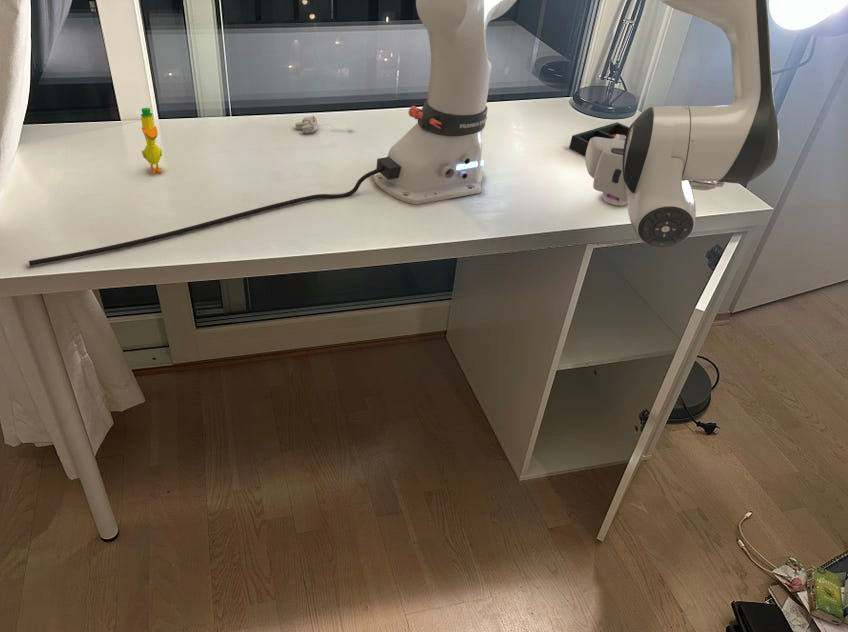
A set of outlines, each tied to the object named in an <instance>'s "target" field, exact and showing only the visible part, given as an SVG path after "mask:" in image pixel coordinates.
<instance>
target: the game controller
mask: <svg viewBox="0 0 848 632" xmlns="http://www.w3.org/2000/svg"><path fill="white" fill-rule="evenodd" d="M294 125H295V129H296V130H302V133H303V134H307V133H312V132H315V131H316V130H317V129H318V127H320V125H319V124H318V119H317V118H316V116H314V115H312V116H306V117H303V118H302V119H301V121H298V122H297V121H296V122H295V123H294ZM323 125H328V126H329V124H328V123H327V124H326V123H324V124H321V127H323ZM334 129H335V130H337V128H334ZM347 129H348V130H350V128H348V127H347Z"/></svg>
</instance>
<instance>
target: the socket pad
mask: <svg viewBox="0 0 848 632" xmlns="http://www.w3.org/2000/svg"><path fill="white" fill-rule="evenodd" d="M629 127H630V126H627V125H625V124H622V123H621V122H618V121H616V122H613V123H609V124H607V125H603V126H599V127H596V128H593V129H590V130H587V131H583V132H580V133H576V134H573V135H572V136H571V139H570V143H569V147H568V150H571V151H573V152H575V153H576V154H579V155H581V156H582V157H583V156H584V157H585V155H586V151H587V147H588V143H589V140H590V139H591V138H593V137H602V138H609V139H613V138H615V136H616V134H620V135H625V137H626V135H627V132H628V129H629Z"/></svg>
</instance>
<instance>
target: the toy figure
mask: <svg viewBox="0 0 848 632" xmlns="http://www.w3.org/2000/svg"><path fill="white" fill-rule="evenodd" d="M140 110H141V114H140V119H141V131H142V133H143V136H144V139H145V142H146V145H145V146H144V149H143V150H141V154H142V157H143V158H144V159H145V160H146V161H147V162H148V164H150V174H151V175H156V173H157V174H159V175H160V174H162V169H161V167H160V166H159V162H160V161H161V158H162V156H163V151H162V148H161V147H160V146H158V145H157V143H156V139H157V137H158V133H159V132H158V131H159V130H158V128H157V126H156V125H155V121H154V115H153V114H154V113H153V112H151V108H150V107H143V108H141V109H140ZM154 165H155V167H154Z"/></svg>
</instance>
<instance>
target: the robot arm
mask: <svg viewBox="0 0 848 632" xmlns="http://www.w3.org/2000/svg"><path fill="white" fill-rule="evenodd" d="M517 1H518V0H415V6H416V12H417V16H418V18H419V20H420V22H421V23H422V25H423V26H424V27H425V28H426V31H427V36H428V41H429V49H430V69H429V80H428V89H427V90H428V91H427V98H426V99H425V101H424V103H423V105H422V108H419V107H418V106H416V105H410V107H409V109H408V111H407V112H408V115H409V117H410V118H414V120H417V123H415V125H413V126H412V127H411V128H410V130H408V131H407V132H406V133H405V134H404V135H403V136H402V137H401V138H400V139H399V140H398V141H397V142H396V143H395V144H393V145H392V146H391V147H390V148H389V151H388V154H387V156H385V157H380V158H379V157H378V158H377V159H376V168H375V169H373V170H371V171H369V172H367V173H365V174H363V175H362V176H361V177H360V178H358V179H357V182H355V185H354V187H353V188H352V189H351V190H349V191H346V192H344V193H338V194H334V193H330V194H329V193H319V194H312V195H311V194H310V195H307V196H302V197H298V198H293V199H289V200H285V201H281V202H277V203H273V204H269V205H265V206H261V207H258V208H253V209H250V210H246V211H242V212H238V213H235V214H232V215H228V216H224V217H220V218H216V219H212V220H209V221H205V222H202V223H198V224H194V225H190V226H187V227H183V228H180V229H175V230H172V231H167V232H163V233H159V234H155V235H151V236H147V237H142V238H138V239H134V240H129V241H125V242H120V243H116V244H111V245H106V246H101V247H97V248H92V249H87V250H82V251H77V252H70V253H66V254H65V253H64V254H60V255H54V256H49V257H43V258H37V259H32V260H28V264H29V267H31V266H37V265H41V264H49V263H54V262H59V261H65V260H70V259H75V258H81V257H86V256H90V255H96V254H101V253H107V252H110V251H115V250H121V249H125V248H128V247H129V248H130V247H134V246H138V245H142V244H146V243H150V242H154V241H158V240H162V239H166V238H171V237H174V236H177V235H181V234H185V233H190V232H194V231H196V230H201V229H203V228H208V227H212V226H214V225H218V224H222V223H226V222H229V221H233V220H236V219H240V218H243V217H248V216H252V215H255V214H258V213H262V212H266V211H270V210H275V209H278V208H283V207H287V206H290V205H295V204H298V203H303V202H308V201H311V200H318V199H319V200H320V199H342V198H348V197H351V196H352V195H354V194H355V193H357V192H358V189H359V188H360V187H361V185H362V183H363V182H365V180H367V179H369V178H370V177H372V180H373V182H374V184H375V185H376V186H377V187H378V188H380V189H381V190H383V191H384V192H385V193H387V194H389V195H390V196H392V197H393V198H396V199H398V200H400V201H402V202H405V203H408V204H413V205H421V204H426V203H432V202H439V201H443V200H448V199H454V198H460V197H465V196H471V195H476V194H480V193H481V192H482V181H483V172H482V166H484V163H485V160H483V159H482V153H483V149H482V148H483V130H484V129H485V127H486V124H487V123H486V122H487V119H488V116H487V115H488V106H487V101H488V95H489V89H490V83H491V77H492V71H493V63H492V60H491V58H490V57H489V55H488V49H487V48H488V47H487V28H488V25H489V23H490V22H491V21H494V20H496V19H498V18H500V17H501V16H503V15H505V13H507V12H508V11H509V10H510V9H511V8H512V7H513V6H514V5H515V3H516V2H517ZM660 2H662V3H663V4H665V5H666V6H668V7H671V8H672V9H674V10H677V11H679V12H682V13H684V14H688V15H691V16H694V17H697V18H699V19H701V20H705V21H706V22H709V23H711V24H713V25H714V26H716V27H717V28H718V29H720V30H721V31H722V32H723V33H724V34H725V36H726V38H727V39H728V43H729V46H730V58H731V72H732V87H733V102H732V103H730V104H726V105H691V106H690V105H666V106H664V105H663V106H660V105H659V106H649V107H648V108H646V109H645V110H644V111H642V112H641V113H640V115H638V116H637V117H636V119H634V121H633V122H632V123H631V124H630V126H628V127H629V129H628V132H627V135H626V137H625V135H620V134H616V136H615V138H613V139H609V138H602V137H593V138H591V139H590V140H589V143H588V147H587V151H586V155H585V156H584V161H585V166H586V170H587V174H588V175H589V176H590V177H591V178H592V179H593V182H592V188H593V189H594V190H595V191H597V192H600V193H603V192H604V193H607V194H610V195H613V196H615V197H618V198H620V199H622V200H624V201H626V202H627V204H626V205H627V212H628V213H627V214H628V218H629V221H630V224H631V227H632V229H633V231H634V233H635V235H636V237H637V238H638V239H639V240H640V241H641V242H643V243H644V244H646V245H648V246H651V247H657V248H665V247H673V246H675V245H678V244H680V243H682V242H684V241H685V240H686V239H687V238H689V236H690V235H692V233H693V231H694V229H695V226H696V220H697V210H696V209H697V206H696V199H695V194H694V191H693V190H698V191H709V190H712V189H713V190H714V189H716V188H722V187H724V186H725V184H727V183H729V184H741V185H746V184H748V183H750V182H752V181H754V180H755V179H757V178H758V177H760V176H761V175H762V174H764V173H765V172H766V171H767V170H769V168H771V167H772V166H773V165H774V163H775V161H776V159H777V154H778V151H779V147H780V146H779V145H780V132H779V124H778V117H777V112H776V111H777V110H776V105H775V99H774V88H773V73H772V72H773V71H772V54H771V39H770V23H769V21H770V20H769V11H768V0H660Z"/></svg>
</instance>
